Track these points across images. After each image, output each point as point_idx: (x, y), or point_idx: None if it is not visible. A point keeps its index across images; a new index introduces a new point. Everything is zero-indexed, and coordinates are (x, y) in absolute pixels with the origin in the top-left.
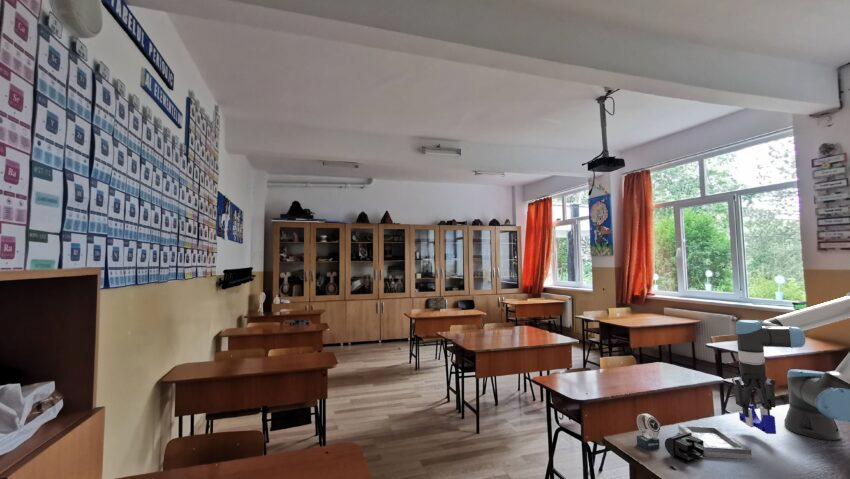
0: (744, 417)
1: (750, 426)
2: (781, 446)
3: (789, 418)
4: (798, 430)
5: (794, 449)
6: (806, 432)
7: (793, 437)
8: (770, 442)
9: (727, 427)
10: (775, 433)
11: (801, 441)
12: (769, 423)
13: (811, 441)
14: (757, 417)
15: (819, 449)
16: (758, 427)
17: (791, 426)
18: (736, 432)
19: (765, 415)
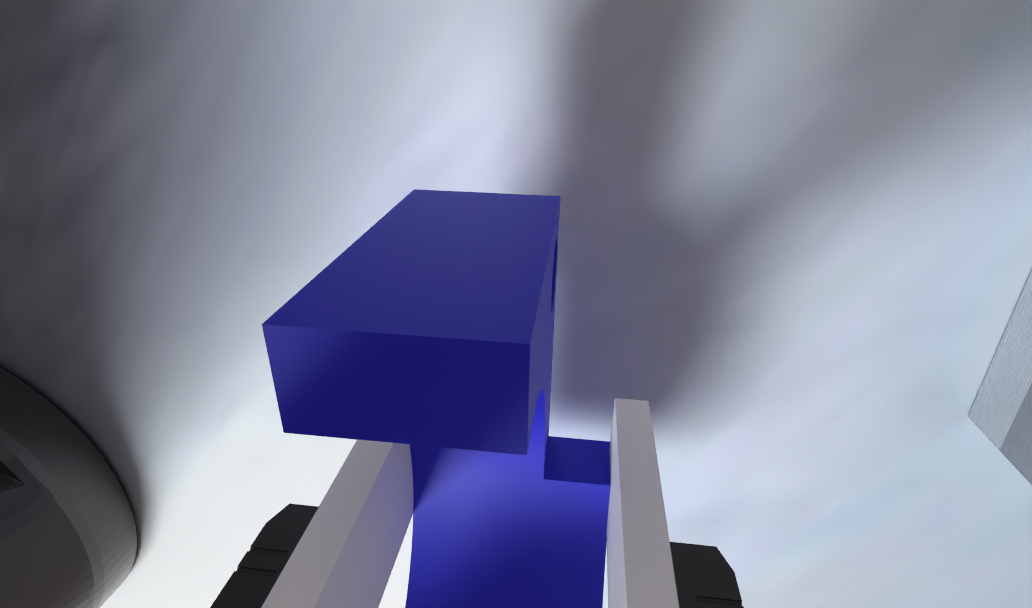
0: (600, 603)
1: (647, 415)
2: (406, 157)
3: (30, 600)
4: (61, 459)
5: (303, 84)
6: (8, 417)
7: (164, 378)
8: None
9: None
10: (422, 190)
11: (132, 298)
12: (467, 257)
13: (44, 303)
14: (420, 580)
15: (39, 118)
16: (549, 381)
17: (86, 517)
18: (668, 473)
19: (465, 414)
